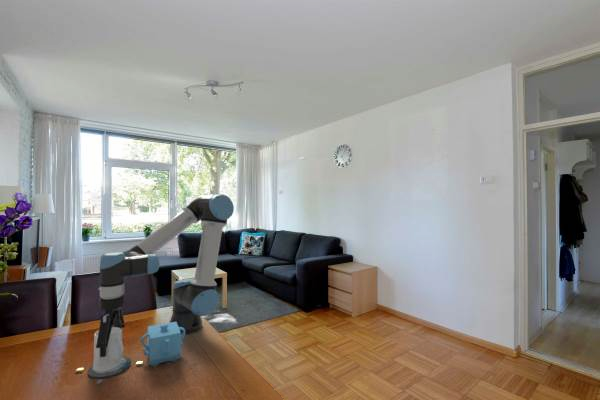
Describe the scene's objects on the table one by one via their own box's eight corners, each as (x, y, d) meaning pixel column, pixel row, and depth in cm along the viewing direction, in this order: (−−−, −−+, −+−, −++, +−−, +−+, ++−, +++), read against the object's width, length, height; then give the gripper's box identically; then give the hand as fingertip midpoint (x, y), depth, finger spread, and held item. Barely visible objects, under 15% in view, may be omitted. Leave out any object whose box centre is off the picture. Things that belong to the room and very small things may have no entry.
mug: (131, 364, 107) (132, 331, 107) (107, 377, 99) (108, 341, 99) (111, 356, 112) (112, 325, 112) (87, 367, 104) (88, 333, 104)
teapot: (139, 356, 115) (140, 323, 115) (182, 346, 123) (183, 315, 123) (142, 380, 99) (142, 342, 99) (190, 368, 107) (191, 332, 107)
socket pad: (146, 355, 115) (146, 352, 115) (134, 380, 99) (134, 377, 99) (84, 362, 110) (85, 359, 110) (60, 390, 93) (60, 386, 93)
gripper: (112, 287, 118) (112, 340, 118) (84, 309, 94) (83, 376, 93) (133, 285, 120) (133, 338, 120) (111, 307, 96) (110, 372, 95)
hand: (111, 355), depth 107 cm, fingers open, 13 cm apart
